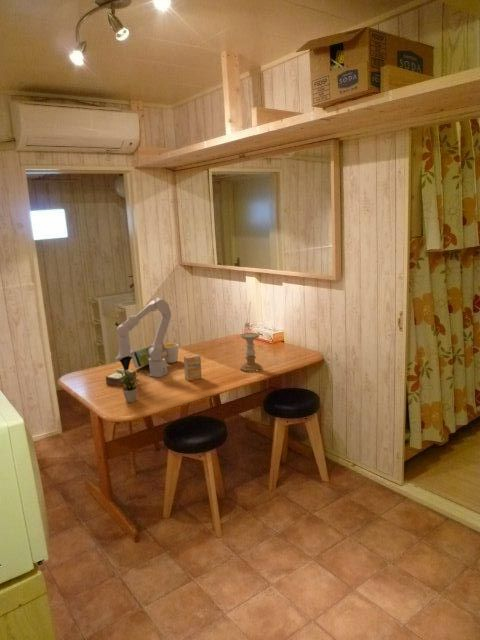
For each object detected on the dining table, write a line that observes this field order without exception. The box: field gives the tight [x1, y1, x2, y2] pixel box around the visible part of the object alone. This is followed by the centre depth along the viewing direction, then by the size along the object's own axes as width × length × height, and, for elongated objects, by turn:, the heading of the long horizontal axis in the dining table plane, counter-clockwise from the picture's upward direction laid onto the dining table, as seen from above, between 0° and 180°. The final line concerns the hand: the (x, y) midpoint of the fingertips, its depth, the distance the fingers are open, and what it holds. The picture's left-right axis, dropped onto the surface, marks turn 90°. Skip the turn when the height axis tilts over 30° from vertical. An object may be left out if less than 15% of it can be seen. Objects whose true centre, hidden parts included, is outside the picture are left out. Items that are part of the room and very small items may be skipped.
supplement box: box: [183, 353, 203, 382], centre depth 260 cm, size 8×5×13 cm, turn 118°
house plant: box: [115, 370, 143, 403], centre depth 234 cm, size 14×14×16 cm
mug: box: [163, 342, 180, 364], centre depth 293 cm, size 14×10×10 cm
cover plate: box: [107, 368, 135, 379], centre depth 261 cm, size 13×8×2 cm, turn 154°
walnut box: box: [105, 370, 137, 387], centre depth 262 cm, size 13×10×4 cm
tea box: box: [130, 342, 168, 369], centre depth 283 cm, size 15×10×15 cm
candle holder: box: [240, 332, 263, 372], centre depth 272 cm, size 12×12×20 cm
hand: (126, 369), depth 266 cm, fingers closed
